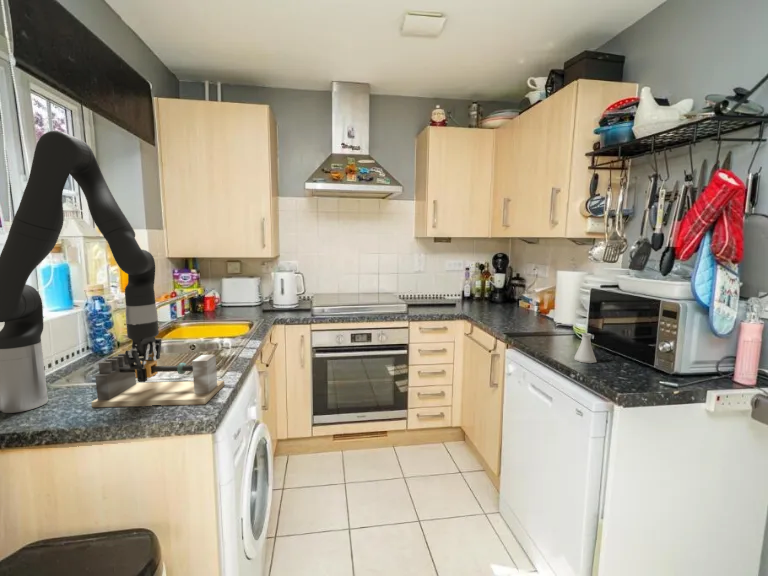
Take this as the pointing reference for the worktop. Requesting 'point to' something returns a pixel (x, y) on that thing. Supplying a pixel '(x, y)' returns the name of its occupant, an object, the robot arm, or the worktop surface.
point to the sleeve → (149, 368)
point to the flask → (585, 350)
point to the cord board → (155, 384)
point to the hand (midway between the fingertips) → (147, 378)
